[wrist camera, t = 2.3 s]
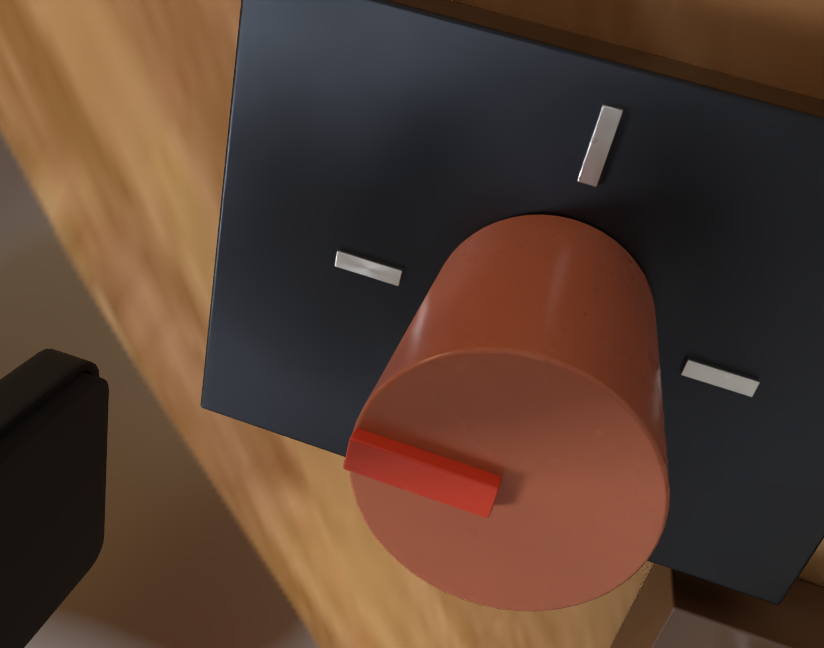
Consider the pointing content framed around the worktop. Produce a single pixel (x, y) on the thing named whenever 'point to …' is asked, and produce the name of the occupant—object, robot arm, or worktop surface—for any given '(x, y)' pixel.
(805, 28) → the worktop surface
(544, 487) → the dial knob
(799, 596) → the brown dial base plate
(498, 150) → the black dial base plate
